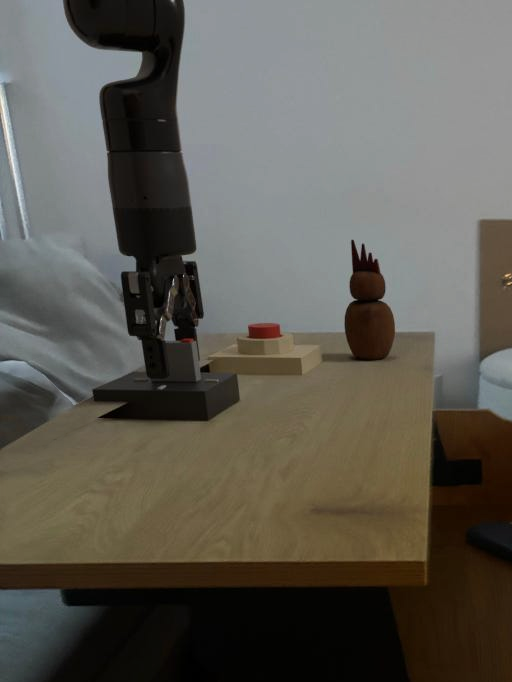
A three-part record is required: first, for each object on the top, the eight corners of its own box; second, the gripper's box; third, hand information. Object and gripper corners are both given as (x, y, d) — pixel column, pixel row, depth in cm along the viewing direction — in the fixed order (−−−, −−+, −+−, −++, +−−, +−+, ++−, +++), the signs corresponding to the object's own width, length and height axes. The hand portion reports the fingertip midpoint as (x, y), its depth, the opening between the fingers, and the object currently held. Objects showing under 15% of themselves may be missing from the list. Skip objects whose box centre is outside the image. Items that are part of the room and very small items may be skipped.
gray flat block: (150, 381, 104) (144, 340, 102) (156, 378, 105) (150, 338, 104) (196, 382, 104) (191, 340, 102) (201, 379, 105) (196, 338, 103)
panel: (96, 418, 102) (91, 387, 101) (137, 398, 111) (132, 370, 110) (208, 420, 101) (204, 389, 100) (240, 400, 110) (237, 371, 109)
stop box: (209, 374, 124) (205, 341, 123) (236, 360, 133) (232, 330, 132) (302, 375, 123) (299, 342, 121) (322, 361, 132) (320, 330, 130)
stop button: (245, 341, 125) (243, 327, 124) (254, 336, 129) (253, 322, 128) (275, 341, 125) (274, 327, 124) (284, 337, 128) (283, 323, 127)
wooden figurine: (338, 358, 134) (330, 239, 128) (370, 352, 138) (364, 237, 132) (371, 364, 130) (365, 242, 124) (403, 358, 134) (399, 239, 127)
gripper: (159, 205, 90) (183, 384, 97) (213, 201, 103) (231, 359, 110) (81, 205, 91) (111, 383, 98) (144, 201, 104) (166, 358, 111)
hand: (174, 370), depth 104 cm, fingers open, 8 cm apart
